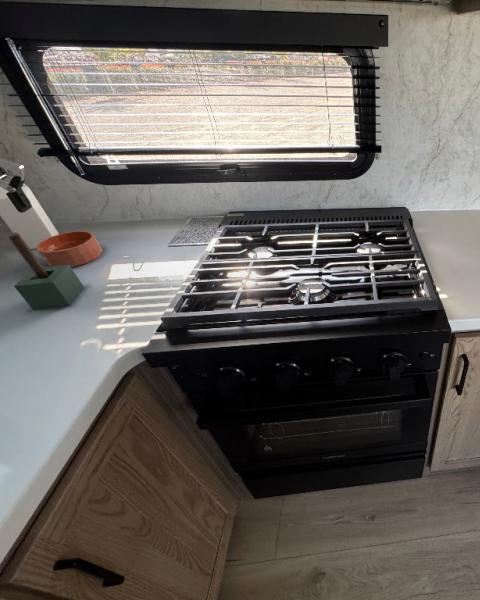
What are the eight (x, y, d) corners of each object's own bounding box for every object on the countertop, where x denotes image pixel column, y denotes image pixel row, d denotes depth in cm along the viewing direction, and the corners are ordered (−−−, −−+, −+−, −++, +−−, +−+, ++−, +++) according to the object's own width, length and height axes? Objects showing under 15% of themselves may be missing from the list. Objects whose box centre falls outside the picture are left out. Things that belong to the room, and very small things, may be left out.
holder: (34, 311, 78) (13, 286, 73) (51, 292, 83) (32, 268, 79) (71, 307, 79) (52, 282, 75) (85, 288, 85) (69, 264, 80)
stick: (54, 302, 80) (4, 236, 70) (58, 297, 82) (10, 232, 71) (63, 301, 81) (14, 236, 70) (67, 296, 82) (20, 232, 72)
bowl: (39, 272, 90) (25, 254, 86) (63, 250, 99) (51, 232, 95) (92, 267, 92) (81, 249, 89) (110, 246, 101) (100, 229, 98)
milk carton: (58, 244, 101) (15, 180, 89) (26, 251, 98) (-23, 185, 86) (60, 235, 106) (19, 172, 94) (29, 241, 102) (-17, 176, 91)
